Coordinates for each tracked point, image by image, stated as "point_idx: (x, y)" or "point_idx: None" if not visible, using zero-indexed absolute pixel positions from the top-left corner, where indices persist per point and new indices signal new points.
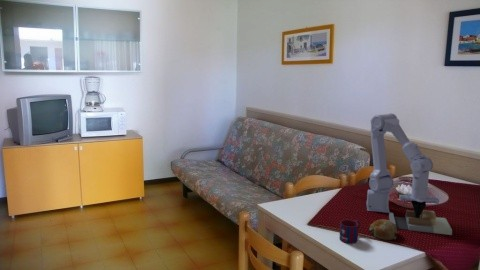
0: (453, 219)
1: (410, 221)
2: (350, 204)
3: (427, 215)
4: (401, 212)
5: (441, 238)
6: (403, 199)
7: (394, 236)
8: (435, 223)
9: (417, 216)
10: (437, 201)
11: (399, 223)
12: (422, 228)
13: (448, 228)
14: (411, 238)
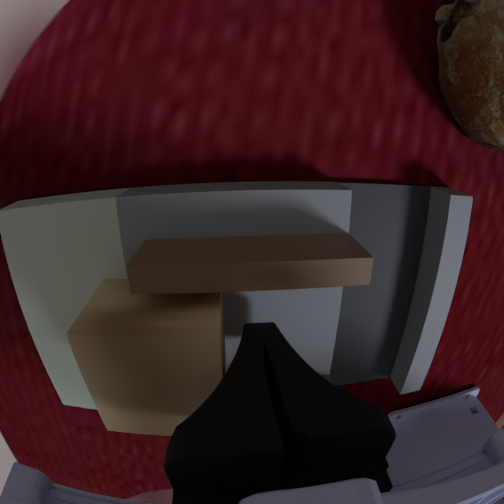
0: (51, 418)
1: (342, 242)
2: (499, 408)
3: (157, 333)
4: None
5: (83, 101)
6: (478, 460)
7: (451, 18)
8: None
9: (265, 336)
10: (14, 496)
11: (384, 283)
12: (221, 188)
13: (16, 239)
14: (332, 22)
